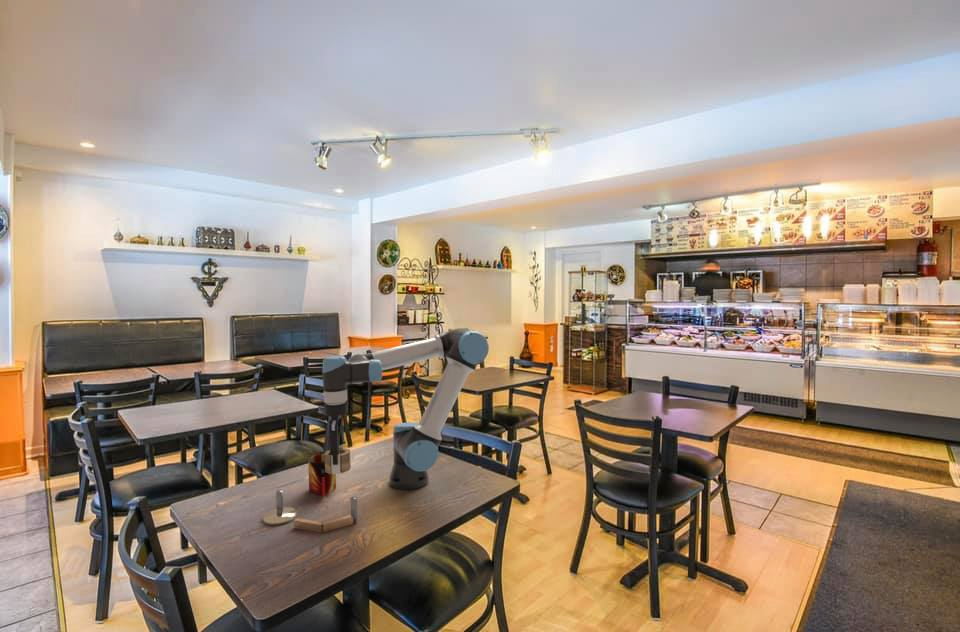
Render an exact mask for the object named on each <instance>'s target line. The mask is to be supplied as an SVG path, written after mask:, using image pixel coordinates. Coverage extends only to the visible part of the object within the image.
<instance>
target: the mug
mask: <svg viewBox="0 0 960 632" xmlns="http://www.w3.org/2000/svg"><path fill="white" fill-rule="evenodd" d="M336 477H337V474H329V473H326V472H325V453H320V454H314V455H312V456H310V457H309V458H308V492H309V493H310V494H311V495H314V496H319V495H320V496H322V498H325V497H326V494H330V493H333V492H335V491H336V489H337V478H336Z"/></svg>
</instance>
